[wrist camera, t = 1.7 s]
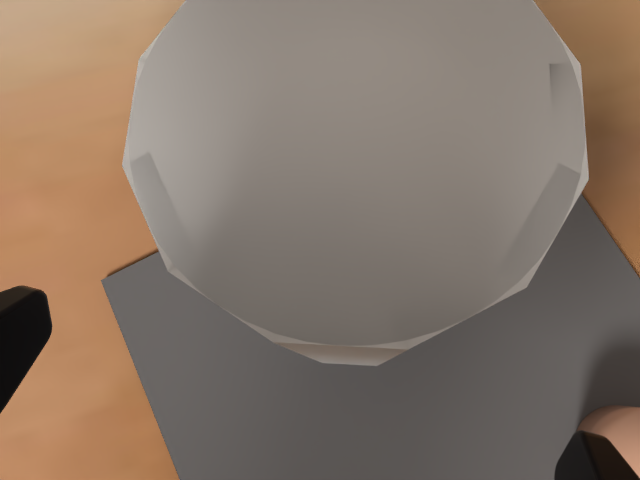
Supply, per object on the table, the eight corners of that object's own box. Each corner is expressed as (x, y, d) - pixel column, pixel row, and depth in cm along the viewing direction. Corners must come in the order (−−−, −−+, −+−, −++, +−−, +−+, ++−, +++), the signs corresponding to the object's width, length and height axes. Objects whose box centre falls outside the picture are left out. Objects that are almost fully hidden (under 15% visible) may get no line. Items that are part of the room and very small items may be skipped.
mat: (835, 573, 17) (843, 576, 17) (335, 863, 16) (335, 872, 16) (501, 83, 22) (503, 79, 22) (104, 281, 21) (100, 280, 21)
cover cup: (490, 306, 20) (684, 205, 8) (309, 401, 19) (239, 437, 8) (392, 142, 21) (435, -133, 10) (226, 225, 21) (67, 39, 9)
